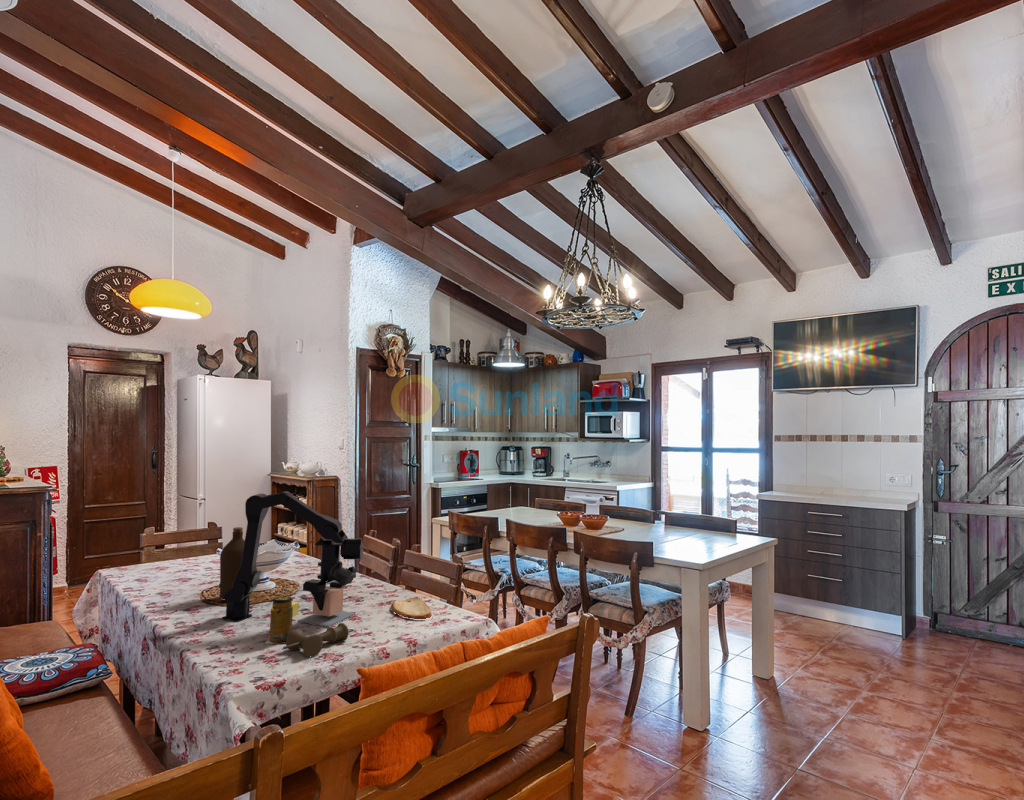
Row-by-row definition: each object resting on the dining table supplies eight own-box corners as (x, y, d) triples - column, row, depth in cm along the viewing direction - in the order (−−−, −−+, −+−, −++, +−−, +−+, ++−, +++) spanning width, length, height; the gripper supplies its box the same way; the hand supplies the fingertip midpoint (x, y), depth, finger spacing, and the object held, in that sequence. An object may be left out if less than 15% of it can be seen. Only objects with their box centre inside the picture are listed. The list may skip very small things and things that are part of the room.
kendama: (354, 645, 169) (292, 664, 153) (333, 638, 175) (272, 656, 159) (355, 623, 170) (294, 640, 154) (334, 618, 175) (273, 633, 159)
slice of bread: (428, 623, 189) (429, 611, 190) (377, 618, 193) (377, 606, 194) (446, 607, 207) (447, 596, 207) (399, 603, 211) (399, 592, 211)
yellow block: (289, 618, 189) (290, 605, 190) (279, 616, 191) (280, 604, 191) (298, 615, 193) (298, 602, 193) (288, 613, 195) (289, 601, 195)
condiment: (272, 635, 173) (274, 594, 174) (301, 635, 174) (303, 594, 175) (264, 644, 166) (266, 601, 167) (295, 644, 167) (297, 601, 168)
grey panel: (328, 627, 181) (328, 625, 181) (297, 622, 186) (297, 620, 186) (355, 614, 195) (356, 613, 195) (326, 610, 199) (326, 608, 199)
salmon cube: (329, 616, 186) (330, 593, 186) (312, 613, 188) (313, 590, 189) (342, 610, 192) (343, 588, 193) (326, 608, 195) (327, 586, 195)
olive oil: (256, 595, 214) (260, 526, 215) (239, 603, 204) (242, 531, 205) (229, 593, 216) (233, 525, 217) (211, 601, 205) (215, 529, 206)
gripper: (331, 567, 180) (329, 619, 179) (367, 556, 197) (365, 603, 196) (302, 563, 184) (300, 614, 183) (340, 552, 201) (338, 599, 200)
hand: (327, 607), depth 190 cm, fingers closed on salmon cube, 6 cm apart
